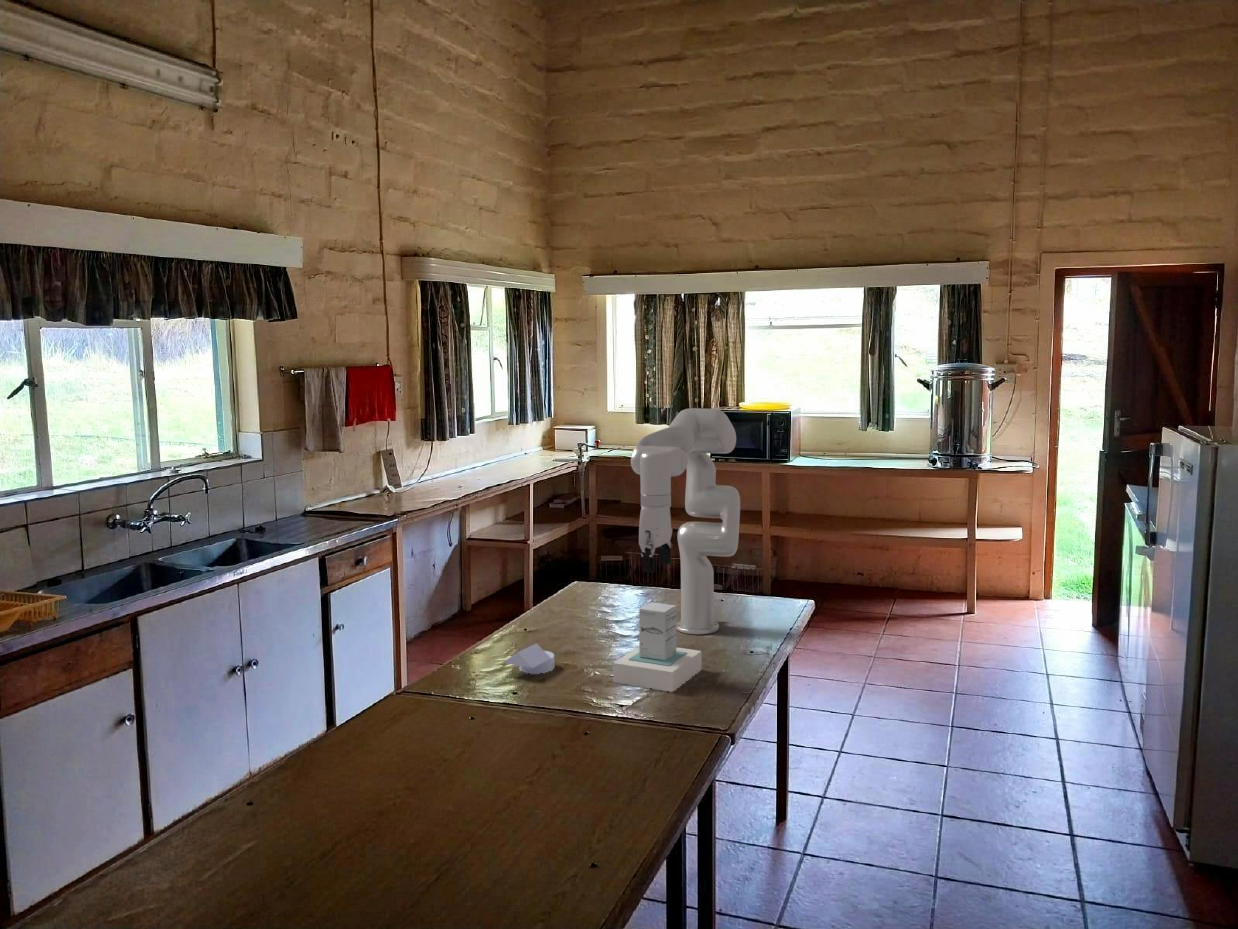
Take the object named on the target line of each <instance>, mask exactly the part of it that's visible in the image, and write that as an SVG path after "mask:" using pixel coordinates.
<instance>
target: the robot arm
mask: <svg viewBox="0 0 1238 929" xmlns="http://www.w3.org/2000/svg"><path fill="white" fill-rule="evenodd" d="M736 444H737V434H736V430H735V427H734V426H733V424H732V422H731V420H730V419H729V417H728V415H727V414H725V412H723V411H722V410H720V409H719V408H699V407H698V408H696V407H695V408H693V407H692V408H685V409H683V410H680V412H678V413H677V414H676V416H675V418H673V420H672V421H671V423H670V424H669V425H668V427H665V428H662V429H660V430H657V431H655V432H652V433H649V434H647V435H645V436H643V437H642V438H641V439H640V440H639V441H638V442H637V443H636V445H635V447H634V448H633V450H632V453H631V457H630V466H631V469H632V470H633V472H634V473H635V474H636V475H639V477H640V508H641V509H640V514H639V523H638V524H639V526H638V527H639V528H638V546H639V548H640V549H639V550H640V556H641V571H642V573H648V574H649V573H651V574H654V573H655V572H656V566H655V563H656V559H655V556H654V554H655V550H656V549H657V548H658V549H657V550H658V563H659V564H668V565H669V564H671V563H672V552H671V551H672V540H673V537H672V535H673V528H672V516H671V507H672V477H678V476H680V475H682V474H683V473H684V472H685V471H686V480H685V493H684V494H685V495H684V498H685V499H684V506H685V507H684V508H685V512H686V513H687V514H688V515H689V516H691V517H695V518H705V519H706V518H709V519H720V520H722V522H709V521H687V522H685V523H682V524H681V525H680V526H679V528H678V530H677V545H678V550H679V559H680V621H677V631H678V632H680V633H684V634H688V635H708V634H713V633H716V632H718V631H719V629H720V625H719V623H718V622H716V621H714V618H715V615H716V614H717V610H716V609H715V608H714V607H715V606H714V604H715V603H714V602H715V599H714V595H715V593H714V592H715V589H714V588H715V586H714V585H715V583H714V581H715V580H714V578H715V577H714V576H715V575H714V573H715V572H714V567H713V565H712V563H711V561H710V560H709V559H708V556H709V557H710V556H712V557H733V556H734V555H735V554H736V553H737V550H738V548H739V535H740V516H741V496H740V492H739V491H738V489H737V488H735V487H734V486H731V485H724V484H723V485H721V484H720V485H719V484H716V483H717V482H716V476H717V475H716V474H717V467H716V466H715V463H714V461H713V460H712V458H711V457H710V456H709V455H708V454H720V455H721V454H725V455H726V454H730V453H732V451H733V450H734V449H735V447H736Z"/></svg>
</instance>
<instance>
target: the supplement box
mask: <svg viewBox="0 0 1238 929" xmlns="http://www.w3.org/2000/svg"><path fill="white" fill-rule="evenodd" d="M677 608H678V605H676V604H675V605H674V604H668V603H667V604H666V603H660V602H654V601H653V602H652V601H651V602H648V603H647V604H645V605H643V606H642V607H641V606H640V608H639V609H638V610H639V613H638V616H639V620H638V621H639V622H638V623H639V624H638V625H639V628H638V630H639V631H638V632H639V635H638V636H639V639H638V641H639V643H638V644H639V646H638V647H639V657H645V658H652V659H658V660H662V661H666V660H667V659H669V658H670V657H672V656H673V655H674V654H676V647H677V636H678V635H677V633H678V632H677V631H678V630H677V623H678V619H677V614H678V613H677V611H678V609H677Z"/></svg>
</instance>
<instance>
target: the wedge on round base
mask: <svg viewBox="0 0 1238 929" xmlns="http://www.w3.org/2000/svg"><path fill="white" fill-rule="evenodd" d="M503 664H508V665H514V666H519V668H518V669H519V671H520V672H521V671H523V672H522V673H524V672H525V673H524V674H528V673H530V674H529V675H541V674H540V673H543V674H547V673H549V671H550V672H552V671H554V670H553V669H555V653H554V652H552V651H548V650H544V649H543V648H542V647H541V646H540V645H539V644H538V643H537V642H536V643H534V644H532V645H530V646H527V647H526V648H524V649H521V650H520V651H517V652H516V653H514V654H513V655H512V656H510V657H509V658H507V659H506V660H505V661H503ZM546 672H547V673H546Z"/></svg>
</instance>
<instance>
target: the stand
mask: <svg viewBox="0 0 1238 929" xmlns="http://www.w3.org/2000/svg"><path fill="white" fill-rule="evenodd" d="M612 664H613V667H612V668H613V670H612V671H613V673H612V674H613V676H612V677H613V678H612V681H613V683H615V684H620V685H626V684H627V686H634V687H639V688H644V689H650V688H652V689H651V690H657V691H661V690H662V692H667V691H669V692H668V693H674V692H675V691H676V690H678V689H679V688H680V687H681V686H683V685H684V684H685V683H687V682H688V681H689V680H691V679H692V678H693V677H694V676H695V674H696V675H697V674H698V673H700V672H701V671H702V650H697V649H691V648H690V649H689V648H683V647H677V646H676V654H674V655H673V656H672V657H670V658H669V659H667V660H666V661H662V660H658V659H652V658H645V657H639V646H638V647H636V648H635V649H633V650H631V651H629V652H628V653H626V654H625V655H624V656H622V657H620V658H619V659H617V660H615V661H614V662H613V663H612ZM692 676H693V677H692ZM686 681H687V682H686ZM682 684H683V685H682ZM677 688H678V689H677ZM673 691H674V692H673Z"/></svg>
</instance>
